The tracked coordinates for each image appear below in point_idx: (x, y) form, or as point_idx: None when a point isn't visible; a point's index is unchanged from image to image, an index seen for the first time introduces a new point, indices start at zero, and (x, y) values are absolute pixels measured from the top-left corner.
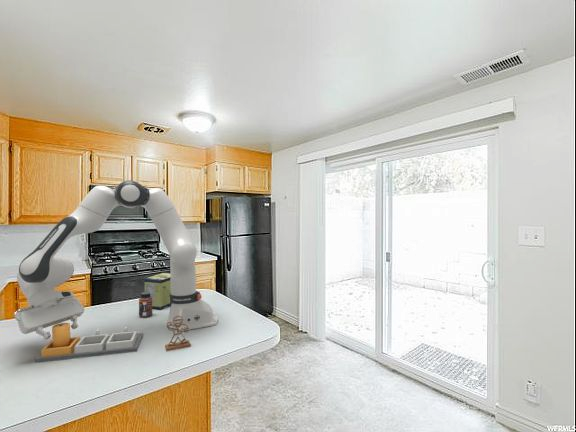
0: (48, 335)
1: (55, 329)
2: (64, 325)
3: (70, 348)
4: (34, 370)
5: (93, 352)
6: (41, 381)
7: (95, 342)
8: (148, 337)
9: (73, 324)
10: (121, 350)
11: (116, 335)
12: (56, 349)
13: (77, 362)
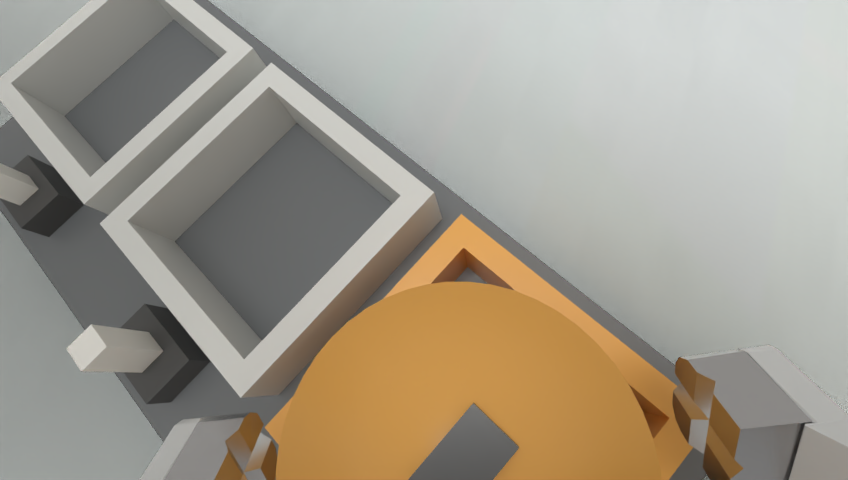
0: (734, 353)
1: (613, 375)
2: (406, 398)
3: (463, 218)
4: (754, 248)
5: (350, 119)
6: (744, 39)
7: (226, 297)
8: (8, 115)
9: (219, 458)
10: (234, 23)
11: (93, 171)
12: (570, 302)
13: (475, 122)
